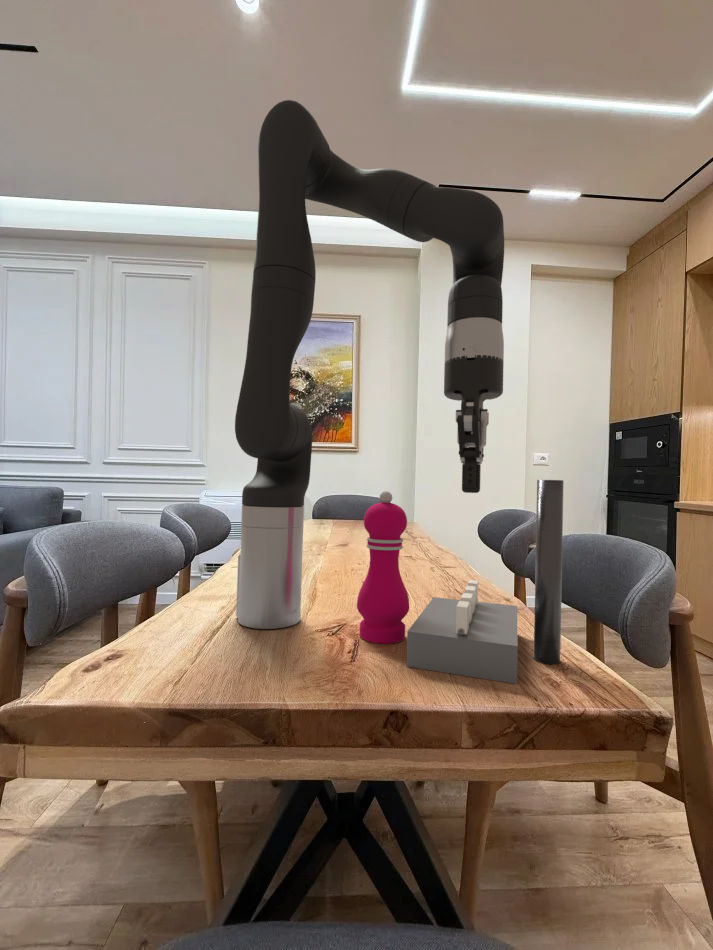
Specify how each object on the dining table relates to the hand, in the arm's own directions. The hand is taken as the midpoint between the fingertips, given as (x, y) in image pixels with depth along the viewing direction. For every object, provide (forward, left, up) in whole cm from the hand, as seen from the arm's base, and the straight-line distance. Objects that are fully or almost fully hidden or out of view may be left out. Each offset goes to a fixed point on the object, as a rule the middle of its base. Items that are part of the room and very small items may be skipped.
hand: (470, 492), depth 60 cm
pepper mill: (-10, -5, -20) cm, 23 cm away
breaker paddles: (0, 0, -16) cm, 16 cm away
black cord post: (+8, +4, -20) cm, 22 cm away
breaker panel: (0, 0, -20) cm, 20 cm away
